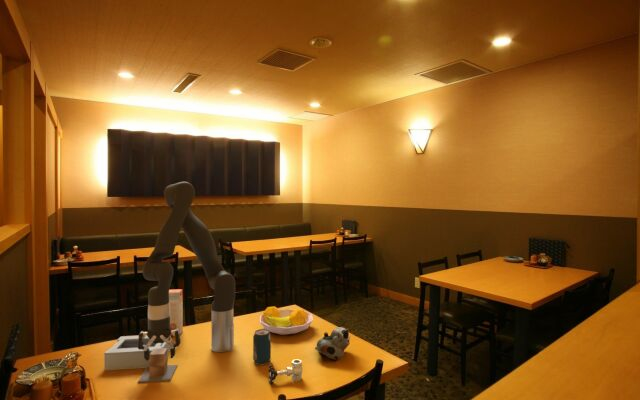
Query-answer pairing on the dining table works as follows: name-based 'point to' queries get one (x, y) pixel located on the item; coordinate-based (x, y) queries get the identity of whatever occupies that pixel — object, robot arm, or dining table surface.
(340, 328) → the grey metal pump housing
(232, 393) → the dining table surface
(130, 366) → the box
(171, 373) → the rubber pad
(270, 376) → the valve
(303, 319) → the fruit bowl
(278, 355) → the dining table surface
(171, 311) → the cracker box
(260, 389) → the dining table surface
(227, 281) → the robot arm
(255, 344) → the soda can
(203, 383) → the dining table surface
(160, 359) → the walnut block
